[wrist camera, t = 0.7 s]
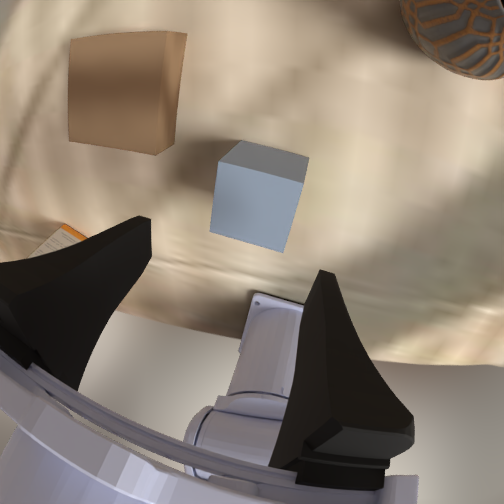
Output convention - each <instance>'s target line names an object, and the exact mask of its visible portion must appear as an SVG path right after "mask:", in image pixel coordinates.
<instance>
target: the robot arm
mask: <svg viewBox="0 0 504 504" xmlns="http://www.w3.org/2000/svg"><path fill="white" fill-rule="evenodd" d="M151 257H152V247H151V219H149V218H146V217H142V216H136V217H134V218H131V219H129V220H127V221H124V222H122V223H120V224H118V225H116V226H114V227H112V228H109V229H107V230H105V231H103V232H101V233H99V234H97V235H94V236H92V237H90V238H87V239H85V240H83V241H81V242H78V243H76V244H73V245H71V246H68V247H65V248H62V249H60V250H57V251H54V252H50V253H46V254H43V255H39V256H36V257H32V258H27V259H22V260H17V261H11V262H2V263H0V409H1V410H2V411H3V412H5V413H6V414H7V415H8V416H9V417H10V418H11V419H12V420H13V421H15V422H16V423H17V424H18V426H17V427H16V429H15V431H14V433H13V434H12V436H11V438H10V440H9V442H8V443H7V445H6V447H5V449H4V451H3V453H2V455H1V457H0V504H417V497H418V481H419V476H418V475H391V476H385V469H388V468H389V467H390V459H391V458H393V457H395V456H397V455H399V454H401V453H403V452H405V451H406V450H408V449H409V448H410V447H411V446H412V445H413V444H414V435H415V430H414V429H415V426H414V417H413V415H412V414H411V413H410V412H409V410H408V409H407V408H406V407H405V406H404V405H403V404H402V403H401V401H400V400H399V399H398V398H397V397H396V396H395V394H394V393H393V392H392V391H391V389H390V388H389V387H388V385H387V384H386V382H385V381H384V380H383V378H382V377H381V375H380V374H379V372H378V371H377V369H376V368H375V366H374V364H373V363H372V361H371V360H370V358H369V356H368V354H367V352H366V351H365V349H364V347H363V345H362V343H361V341H360V339H359V337H358V335H357V333H356V330H355V328H354V326H353V323H352V321H351V319H350V316H349V313H348V311H347V308H346V306H345V303H344V300H343V297H342V294H341V291H340V288H339V285H338V282H337V279H336V276H335V274H334V273H330V272H327V271H324V270H319V272H318V275H317V277H316V279H315V282H314V284H313V286H312V288H311V291H310V293H309V295H308V297H307V300H306V302H305V304H304V306H303V305H300V304H296V303H293V302H289V301H286V300H282V299H279V298H275V297H272V296H269V295H265V294H262V293H255V294H254V295H253V298H252V302H251V306H250V310H249V313H248V317H247V321H246V325H245V328H244V332H243V336H242V339H241V343H240V347H239V352H240V356H239V359H238V362H237V365H236V368H235V371H234V374H233V377H232V380H231V383H230V386H229V389H228V392H227V395H226V396H218V397H217V400H216V403H215V406H206V407H204V408H203V409H202V410H201V411H199V412H198V413H197V414H196V415H195V416H194V417H193V418H192V420H191V422H190V423H189V426H188V427H187V430H186V433H185V436H184V440H183V442H182V441H180V440H177V439H174V438H172V437H169V436H167V435H164V434H161V433H159V432H157V431H154V430H152V429H150V428H147V427H145V426H143V425H141V424H138V423H136V422H134V421H132V420H130V419H128V418H126V417H124V416H122V415H120V414H118V413H116V412H113V411H112V410H110V409H108V408H106V407H104V406H102V405H100V404H98V403H96V402H95V401H93V400H91V399H89V398H88V397H86V396H84V395H82V394H81V393H79V392H77V391H78V388H79V385H80V382H81V379H82V376H83V373H84V371H85V368H86V366H87V363H88V361H89V358H90V356H91V354H92V351H93V349H94V347H95V345H96V343H97V341H98V339H99V337H100V335H101V333H102V331H103V329H104V328H105V326H106V324H107V322H108V320H109V318H110V317H111V315H112V314H113V312H114V311H115V309H116V308H117V307H118V305H119V304H120V303H121V301H122V300H123V299H124V297H125V296H126V295H127V293H128V292H129V291H130V289H131V288H132V287H133V285H134V284H135V283H136V281H137V280H138V279H139V277H140V276H141V275H142V273H143V271H144V269H145V268H146V266H147V264H148V262H149V261H150V259H151ZM256 301H258V302H259V303H258V302H256ZM57 401H58V402H59V403H58V402H57ZM60 403H61V404H62V405H64V406H66V407H67V408H69V409H70V410H72V411H74V412H75V413H77V414H79V415H80V416H82V417H84V418H85V419H87V420H89V421H91V422H92V423H94V424H96V425H98V426H99V427H101V428H103V429H105V430H107V431H109V432H111V433H113V434H115V435H117V436H119V437H121V438H123V439H125V440H127V441H129V442H131V443H133V444H135V445H137V446H140V447H142V448H144V449H146V450H149V451H151V452H153V453H156V454H158V455H161V456H163V457H166V458H168V459H171V460H173V461H176V462H179V463H182V464H184V468H185V473H183V472H181V471H179V470H176V469H174V468H171V467H169V466H167V465H164V464H162V463H160V462H158V461H155V460H153V459H151V458H149V457H146V456H145V455H143V454H140V453H139V452H137V451H134V450H132V449H130V448H128V447H126V446H124V445H122V444H120V443H118V442H117V441H115V440H112V439H111V438H109V437H107V436H105V435H103V434H101V433H99V432H98V431H96V430H94V429H92V428H90V427H89V426H87V425H85V424H83V423H82V422H80V421H78V420H76V419H74V417H73V416H72V415H71V414H70V413H69V411H68V410H67V409H66V408H65V407H64V406H62V405H61V404H60Z"/></svg>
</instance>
